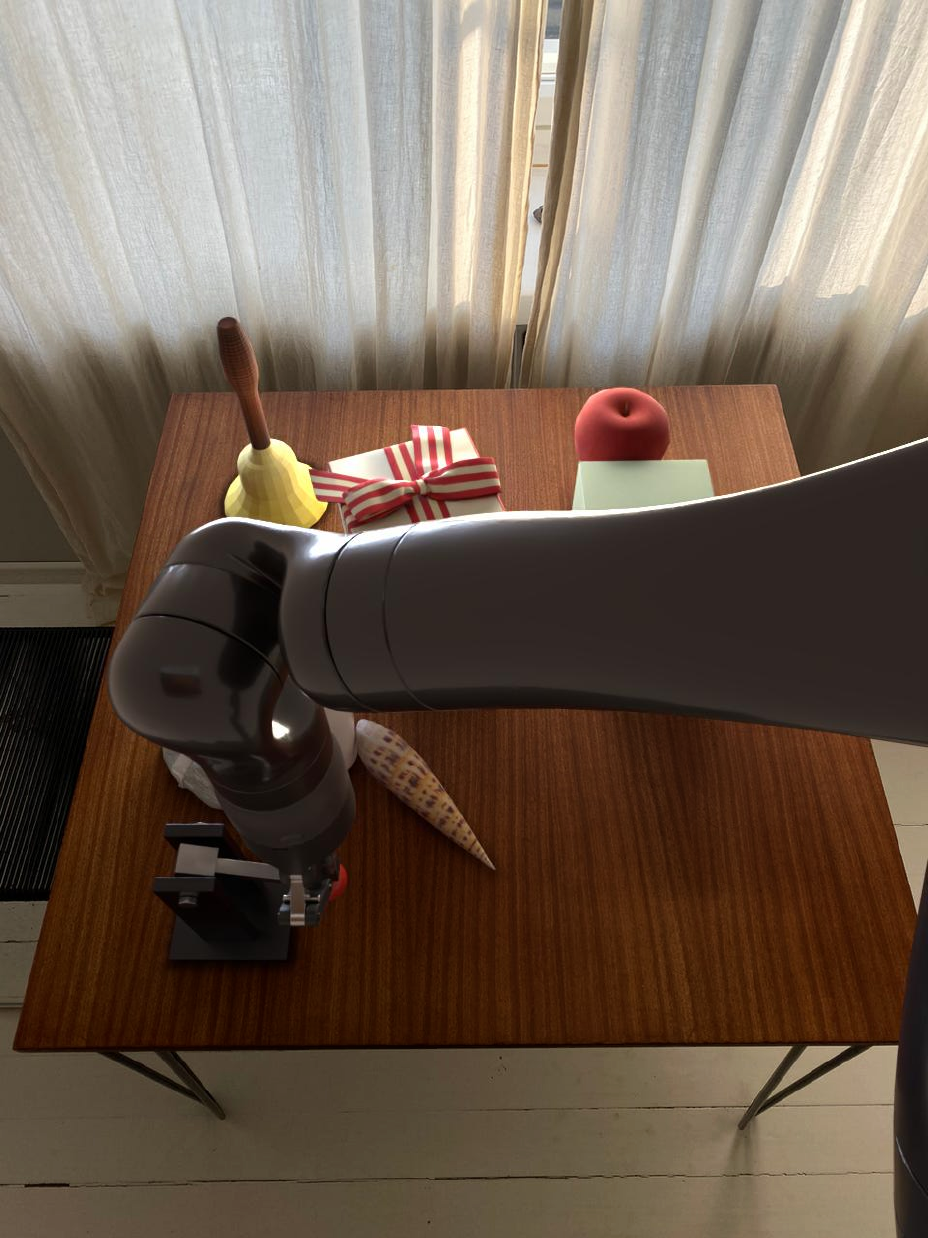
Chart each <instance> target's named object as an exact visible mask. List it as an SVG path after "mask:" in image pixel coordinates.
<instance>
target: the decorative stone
mask: <svg viewBox="0 0 928 1238" xmlns="http://www.w3.org/2000/svg"><path fill="white" fill-rule="evenodd" d="M161 748H162V757H163V760H164V762H165V763H166V766H167V768H168V770H169V772H170V774H171V776H173V777H174V779H175V781H176V782H177V783H178V785H177V786H178V787H179V788H181V789H187V790H189V791H190V792H191V793H193V794H194V795H195V796H196V797H197V798H198V799H199V800H200V801H201V802H203V803H204V804H206V805H207V806H208V807H210V808H213V809H216V810H223V809H222V808H221V806H220V804H219V802H218V800H217V798H216V795H215V792H214V789H213V785H212V783H211V782H210V780H209V779H208V777H207V776H206V774H205V773H204V771H203V769H202V768H201V766H200V765H198V764H197V763H195V762H194V761H192V760H191V759H189V758H188V757H186V756H185V755H183V754H180V753H178V752H175V751H172V750H169V749H167V748H164V747H162V746H161Z"/></svg>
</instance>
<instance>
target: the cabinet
mask: <svg viewBox="0 0 928 1238" xmlns="http://www.w3.org/2000/svg"><path fill="white" fill-rule="evenodd" d="M576 472H577V473H576V479H575V487H574V493H573V501H572V508H571V511H592V510H616V509H633V508H644V507H652V506H660V505H669V504H677V503H684V502H690V501H696V500H703V499H708V498H714V497H716V496H715V491H714V486H713V481H712V478H711V474H710V469H709V464H708V460H707V459H670V460H669V459H667V460H663V459H661V460H658V461H593V462H581V461H578V466H577V471H576Z"/></svg>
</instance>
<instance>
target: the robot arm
mask: <svg viewBox="0 0 928 1238" xmlns="http://www.w3.org/2000/svg"><path fill="white" fill-rule="evenodd" d="M106 681H107V692H108V699H109V702H110V705H111V707H112V710H113V711H114V713H115V715H116V717H117V718H118V719H119V721H120V722H121V723H122V724H123V725H124V726H125V727H127V728H128V729H129V730H130V731H131V732H133V733H134V734H136V735H138V736H139V737H141V738H143V739H145V740H147V741H149V742H150V743H152V744H155V745H157V746H159V747H161V748H162V747H164V748H167V749H169V750H172V751H175V752H178V753H180V754H183V755H185V756H186V757H188V758H189V759H191V760H192V761H194V762H195V763H197V764H198V765H200V766H201V768H202V769H203V771H204V773H205V774H206V776H207V777H208V779H209V780H210V782H211V783H212V785H213V789H214V792H215V795H216V798H217V800H218V802H219V804H220V806H221V808H222V809H221V810H222V811H223V812H224V814H225V815H226V817H227V819H228V820H229V822H230V823H231V825H232V826H233V829H234V830H235V832H237V834H238V835H239V837H240V839H241V840H242V841H243V843H244V844H245V846H246V847H247V849H248V850H249V851H250V852H251V854H253V856H255V857H256V858H258V859H259V860H261V861H262V862H263V863H265V864H269V865H271V866H273V867H275V868H277V869H278V871H279V878H280V882H281V884H282V885H283V886H284V887H286V888H290V891H289V893H288V895H284V896H283V904H282V906H281V908H280V911H279V913H278V921H279V926H280V927H293V928H309V927H310V928H311V927H315V928H318V927H319V924H320V922H321V919H322V917H323V914H324V912H325V910H326V907H327V905H328V903H329V901H328V900H329V897H330V894H331V892H332V888H333V882H337V881H339V874H340V864H341V858H340V857H339V853H338V852H337V849H339V847H340V846H341V845H342V844H343V843H344V841H345V840H346V839H347V837H348V835H349V834H350V831H352V830H351V829H352V827H353V824H354V822H355V817H356V809H357V803H356V802H357V800H356V794H355V790H354V787H353V784H352V780H351V776H350V774H349V769H348V770H347V766H346V763H345V760H344V756H343V753H342V750H341V747H340V745H339V742H338V740H337V738H336V736H335V735H334V733H333V732H332V730H331V729H330V726H329V722H328V719H327V716H326V713H325V709H324V707H325V708H328V709H331V710H335V711H341V712H350V713H354V714H385V713H390V714H391V713H392V714H395V713H434V712H435V713H437V712H439V713H440V712H463V711H465V712H466V711H496V710H497V711H498V710H499V711H500V710H502V711H503V710H573V711H596V712H597V711H600V712H619V713H635V714H647V715H659V716H660V715H661V716H673V717H681V718H682V717H683V718H692V719H699V720H700V719H702V720H712V721H718V722H719V721H721V722H729V723H738V724H739V723H740V724H749V725H758V726H768V727H777V728H786V729H795V730H805V731H812V732H821V733H823V732H824V733H829V734H836V735H842V736H850V737H855V738H862V739H863V738H864V739H869V740H876V741H881V742H882V741H883V742H888V743H889V742H890V743H895V744H903V745H908V746H915V747H921V748H922V747H923V748H928V437H925V438H922V439H919V440H916V441H913V442H911V443H907V444H904V445H901V446H898V447H895V448H892V449H889V450H886V451H883V452H878V453H876V454H873V455H870V456H866V457H864V458H860V459H857V460H854V461H851V462H847V463H844V464H841V465H838V466H835V467H831V468H828V469H825V470H821V471H817V472H814V473H810V474H807V475H804V476H801V477H798V478H794V479H791V480H787V481H783V482H778V483H775V484H770V485H767V486H763V487H758V488H754V489H748V490H745V491H740V492H736V493H731V494H725V495H720V496H715V497H714V498H708V499H703V500H696V501H690V502H684V503H677V504H669V505H660V506H652V507H644V508H633V509H616V510H592V511H572V510H519V511H518V510H517V511H516V510H514V511H506V512H496V513H485V514H475V515H467V516H459V517H451V518H444V519H437V520H429V521H425V522H419V523H413V524H407V525H401V526H395V527H389V528H383V529H377V530H372V531H365V532H360V533H355V534H351V535H349V534H345V533H339V532H334V531H327V530H322V529H316V528H311V527H310V528H303V527H296V526H289V525H283V524H277V523H271V522H266V521H261V520H256V519H250V518H242V517H228V518H227V517H222V518H217V519H215V520H212V521H209V522H207V523H205V524H203V525H201V526H199V527H197V528H195V529H194V530H192V531H190V532H189V533H188V534H186V535H185V536H184V537H183V538H182V539H181V540H180V541H179V542H178V543H177V544H176V545H175V546H174V548H173V549H172V550H171V552H170V553H169V555H168V556H167V558H166V559H165V561H164V563H163V565H162V567H161V569H160V570H159V571H158V574H156V577H155V579H154V580H153V583H152V584H151V586H150V588H149V589H148V591H147V592H146V594H145V596H144V598H143V600H142V602H141V604H140V605H139V606H138V609H137V611H136V612H135V614H134V616H133V618H132V619H131V621H130V622H129V624H128V626H127V627H126V629H125V631H124V632H123V634H122V636H121V638H120V639H119V641H118V643H117V645H116V646H115V649H114V651H113V652H112V655H111V658H110V660H109V665H108V669H107V680H106ZM914 926H915V927H914V932H913V938H912V944H911V949H910V955H909V961H908V968H907V974H906V982H905V986H904V987H905V989H904V995H903V1001H902V1010H901V1019H900V1026H899V1035H898V1043H897V1054H896V1056H897V1057H896V1064H895V1065H896V1066H895V1079H894V1091H893V1093H894V1094H893V1118H892V1119H893V1120H892V1122H893V1123H892V1125H893V1128H892V1130H893V1135H892V1136H893V1141H892V1143H893V1145H892V1147H893V1148H892V1149H893V1151H892V1152H893V1153H892V1154H893V1156H892V1157H893V1160H892V1161H893V1162H892V1164H893V1168H892V1169H893V1171H892V1172H893V1173H892V1174H893V1180H892V1181H893V1182H892V1183H893V1186H892V1187H893V1211H894V1212H893V1213H894V1224H895V1226H894V1227H895V1235H896V1237H895V1238H928V859H927V861H926V867H925V871H924V877H923V882H922V888H921V893H920V899H919V904H918V910H917V916H916V922H915V925H914Z"/></svg>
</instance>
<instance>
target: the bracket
mask: <svg viewBox="0 0 928 1238" xmlns="http://www.w3.org/2000/svg"><path fill="white" fill-rule="evenodd" d="M162 837H163V839H164V840H165V841H166V842H167V843H168V844H169V845H170V846H171V848H172V849H173V850H174V851H175V852H176V853H177V851H178V848H179V846H180V843H184V844H192V845H200V846H208V847H216V848H219V850H218V857H217V858H222V859H230V860H239V861H247V862H250V861H249V859H248V858H247V856H246V855H245V853H244V852H243V850H242V849H241V847H240V846H239V844H238V843H237V841H236V840H235V838H234V837H233V836H232V834H231V832H230V831H229V830H228V828H227V827H226V825H225V824H224V823H207V822H194V823H165V825H164V829H163V834H162ZM289 891H290V888H286V887H284V886H283V885H282V884H280V883H271V882H262V881H253V880H244V879H235V878H227V877H218V876H214V878H172V877H154V879H153V883H152V888H151V892H152V893H153V894H154V895H155V896H156V897H157V898H158V899H159V900H161V901H162V903H163V904H164V905H165V906H167V907H168V908H169V909H170V910H171V911H172V912H173V913H174V914H175V920H174V926H173V932H172V938H171V944H170V948H169V953H168V961H170V962H171V963H173V964H188V963H190V964H230V963H231V964H289V963H290V958H291V951H292V950H291V949H292V942H293V941H292V939H293V930H294V927H280V926H279V921H278V913H279V911H280V908H281V906H282V904H283V896H284V895H288V893H289Z"/></svg>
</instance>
